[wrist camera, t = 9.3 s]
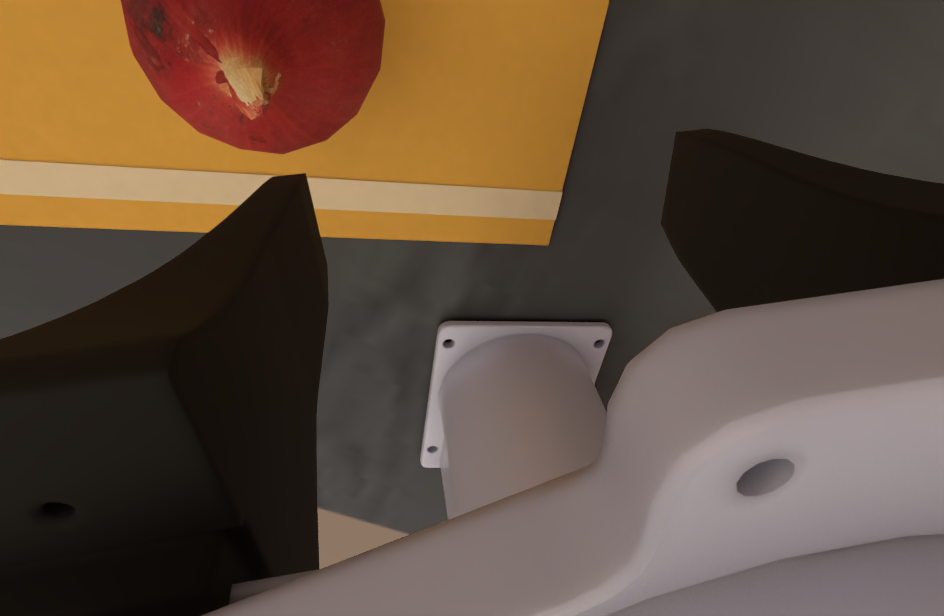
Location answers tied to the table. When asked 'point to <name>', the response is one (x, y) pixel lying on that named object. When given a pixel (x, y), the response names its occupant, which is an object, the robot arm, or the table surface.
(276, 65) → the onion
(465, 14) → the towel
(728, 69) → the table surface
